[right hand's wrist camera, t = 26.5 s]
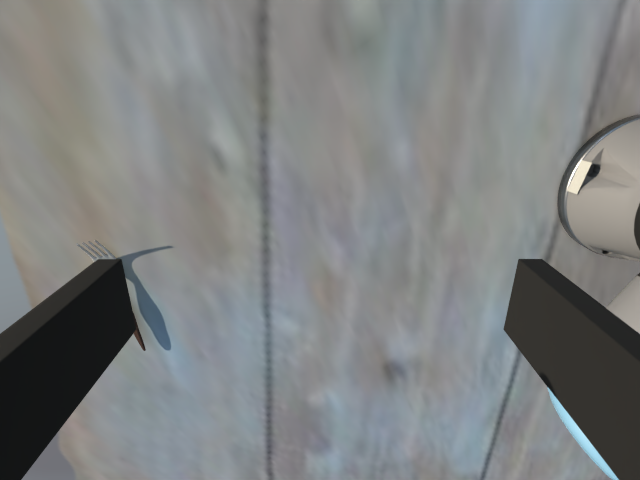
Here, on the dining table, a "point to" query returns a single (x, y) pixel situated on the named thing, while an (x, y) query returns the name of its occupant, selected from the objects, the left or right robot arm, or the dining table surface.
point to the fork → (110, 256)
